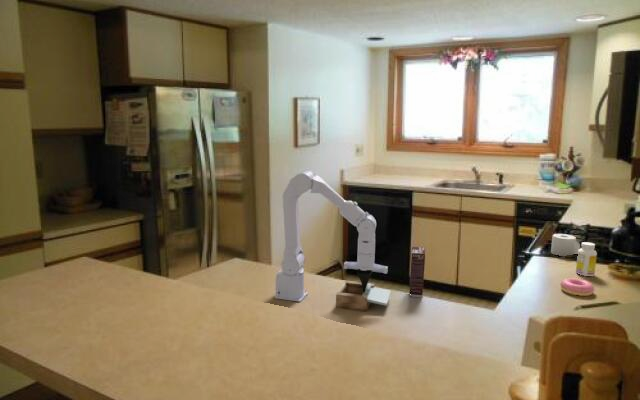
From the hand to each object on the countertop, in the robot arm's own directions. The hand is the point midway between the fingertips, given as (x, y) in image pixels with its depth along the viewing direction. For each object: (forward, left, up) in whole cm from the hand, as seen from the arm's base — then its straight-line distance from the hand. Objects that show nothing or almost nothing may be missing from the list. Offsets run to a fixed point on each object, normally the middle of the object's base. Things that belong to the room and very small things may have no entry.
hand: (364, 290), depth 163 cm
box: (-3, 0, -4) cm, 5 cm away
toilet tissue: (+75, +85, -5) cm, 113 cm away
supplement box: (+16, +15, -4) cm, 22 cm away
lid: (+4, 0, -1) cm, 4 cm away
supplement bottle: (+78, +58, -4) cm, 97 cm away
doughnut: (+71, +36, -5) cm, 80 cm away
